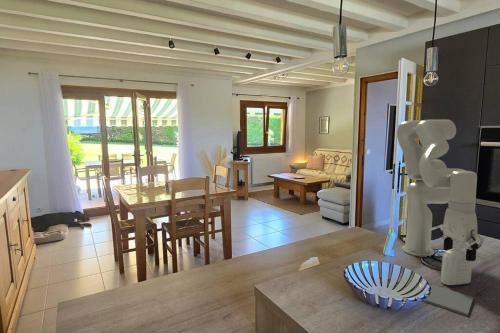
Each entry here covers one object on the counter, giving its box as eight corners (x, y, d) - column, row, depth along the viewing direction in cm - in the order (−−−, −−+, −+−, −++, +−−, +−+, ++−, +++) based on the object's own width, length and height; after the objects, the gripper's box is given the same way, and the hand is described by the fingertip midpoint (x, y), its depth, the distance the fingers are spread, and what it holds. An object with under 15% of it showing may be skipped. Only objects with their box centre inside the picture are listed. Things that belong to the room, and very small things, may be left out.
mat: (430, 286, 104) (430, 284, 104) (473, 299, 96) (473, 297, 96) (421, 300, 95) (421, 298, 95) (467, 316, 87) (467, 313, 87)
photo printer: (461, 278, 110) (464, 245, 108) (472, 283, 106) (475, 250, 104) (438, 281, 107) (440, 247, 106) (448, 287, 103) (451, 252, 102)
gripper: (433, 202, 111) (431, 247, 113) (473, 213, 94) (470, 265, 96) (451, 201, 112) (449, 246, 114) (494, 212, 95) (491, 264, 97)
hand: (458, 255), depth 105 cm, fingers open, 9 cm apart
